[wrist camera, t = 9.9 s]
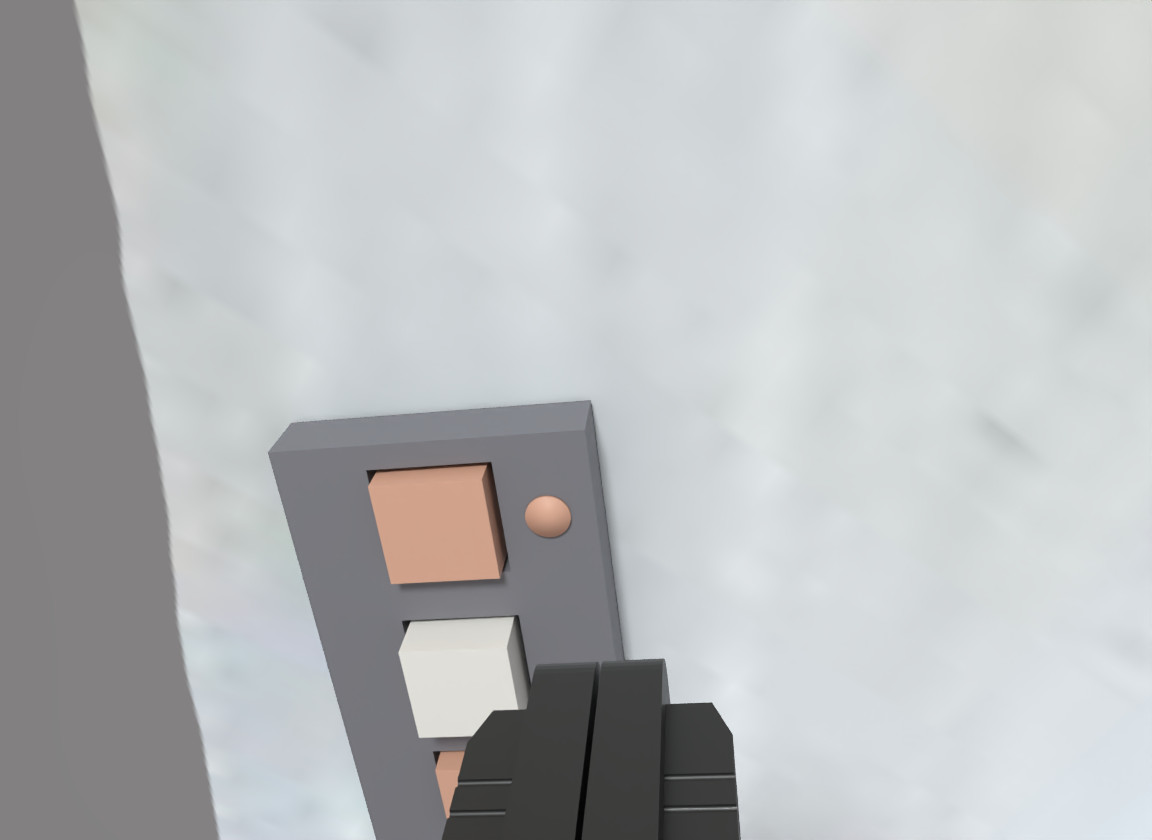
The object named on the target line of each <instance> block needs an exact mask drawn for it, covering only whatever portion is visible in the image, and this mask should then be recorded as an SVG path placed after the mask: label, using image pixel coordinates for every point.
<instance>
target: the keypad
mask: <svg viewBox="0 0 1152 840" xmlns="http://www.w3.org/2000/svg"><path fill="white" fill-rule="evenodd" d="M268 454H269V458H270V461H271V465H272V469H273V472H274V476H275V479H276V483H277V486H278V490H279V494H280V497H281V501H282V504H283V508H284V511H285V515H286V519H287V522H288V526H289V529H290V533H291V536H292V540H293V544H294V547H295V551H296V554H297V558H298V561H299V565H300V569H301V572H302V576H303V579H304V583H305V586H306V590H307V594H308V597H309V601H310V604H311V608H312V611H313V615H314V619H315V622H316V626H317V629H318V633H319V636H320V640H321V644H322V647H323V651H324V654H325V658H326V661H327V665H328V669H329V672H330V676H331V679H332V683H333V686H334V690H335V694H336V697H337V701H338V704H339V708H340V711H341V715H342V719H343V722H344V726H345V729H346V733H347V736H348V740H349V743H350V747H351V751H352V754H353V758H354V761H355V765H356V768H357V772H358V776H359V779H360V783H361V786H362V790H363V793H364V797H365V801H366V804H367V808H368V811H369V815H370V818H371V822H372V826H373V829H374V833H375V836H376V840H442V836H443V832H444V828H445V825H446V821H447V818H446V813H445V809H444V805H443V801H442V797H441V792H440V788H439V784H438V780H437V776H436V771H435V769H436V766H437V763H438V759H439V756H440V752H441V751H463V750H465V749H466V746H467V743H468V741H469V740H470V739H471V738H472V736H464V737H431V738H419V735H418V731H417V727H416V723H415V719H414V715H413V711H412V706H411V702H410V698H409V694H408V690H407V686H406V682H405V678H404V673H403V669H402V665H401V661H400V657H399V653H398V652H399V650H400V647H401V645H402V642H403V640H404V637H405V635H406V632H407V629H408V627H409V624H410V622H411V620H426V619H447V618H468V617H490V616H511V615H518V619H519V625H520V630H521V636H522V642H523V647H524V653H525V658H526V664H527V670H528V675H529V681H530V686H531V683H532V678H533V674H534V670H535V667H536V665H537V664H551V663H576V662H599V664H600V666H601V664H602V662H603V661H619V660H624V654H623V647H622V639H621V631H620V623H619V616H618V608H617V600H616V592H615V585H614V577H613V569H612V561H611V554H610V546H609V538H608V531H607V523H606V515H605V507H604V500H603V492H602V484H601V476H600V469H599V461H598V453H597V445H596V438H595V430H594V422H593V414H592V407H591V400H589V401H575V402H562V403H549V404H536V405H522V406H509V407H496V408H483V409H469V410H456V411H443V412H430V413H416V414H403V415H390V416H377V417H363V418H350V419H337V420H324V421H310V422H297V423H291V424H290V425H289V427H288V428H287V429H286V431H285V432H284V433H283V434H282V436H281V437H280V438H279V439H278V441H277V442H276V443H275V444H274V446H273V447H272V448H271V449H270V451H269V452H268ZM482 462H491V463H492V468H493V474H494V479H495V485H496V491H497V496H498V502H499V507H500V513H501V519H502V524H503V530H504V535H505V541H506V547H507V555H506V559H505V562H504V566H503V569H502V573H501V577H500V579H480V580H461V581H442V582H423V583H404V584H391V582H390V578H389V574H388V569H387V565H386V561H385V557H384V553H383V548H382V544H381V540H380V536H379V532H378V527H377V523H376V519H375V515H374V511H373V506H372V502H371V498H370V494H369V490H368V486H369V484H370V482H371V480H372V479H373V477H374V475H375V473H376V472H377V470H379V469H394V468H408V467H423V466H438V465H452V464H467V463H482Z"/></svg>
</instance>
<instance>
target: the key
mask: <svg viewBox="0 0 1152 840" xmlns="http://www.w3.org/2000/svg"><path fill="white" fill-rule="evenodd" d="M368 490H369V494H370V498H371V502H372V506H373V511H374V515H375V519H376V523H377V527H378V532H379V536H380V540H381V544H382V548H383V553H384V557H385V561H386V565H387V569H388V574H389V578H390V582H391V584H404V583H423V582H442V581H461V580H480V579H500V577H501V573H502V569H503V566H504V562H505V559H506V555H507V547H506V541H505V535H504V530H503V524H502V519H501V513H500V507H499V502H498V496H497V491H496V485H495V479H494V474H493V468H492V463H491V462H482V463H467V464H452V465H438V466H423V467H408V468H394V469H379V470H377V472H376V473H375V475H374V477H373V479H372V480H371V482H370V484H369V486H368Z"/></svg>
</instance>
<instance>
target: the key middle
mask: <svg viewBox="0 0 1152 840" xmlns="http://www.w3.org/2000/svg"><path fill="white" fill-rule="evenodd" d="M398 653H399V657H400V661H401V665H402V669H403V673H404V678H405V682H406V686H407V690H408V694H409V698H410V702H411V706H412V711H413V715H414V719H415V723H416V727H417V731H418V735H419V738H431V737H464V736H473V735H474V734H475V732H476V731H477V730H478V729H479V727H480V726H481V725H482V724H483V722H484V721H485V720H486V719H487V717H488V716H489V715H490V714H491V712H492V711H493V710H521V709H526V708H527V703H528V698H529V693H530V688H531V686H530V681H529V675H528V670H527V664H526V658H525V653H524V647H523V642H522V636H521V630H520V625H519V619H518V615H511V616H490V617H468V618H447V619H426V620H411V622H410V624H409V627H408V629H407V632H406V635H405V637H404V640H403V642H402V645H401V647H400V650H399V652H398Z"/></svg>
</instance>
